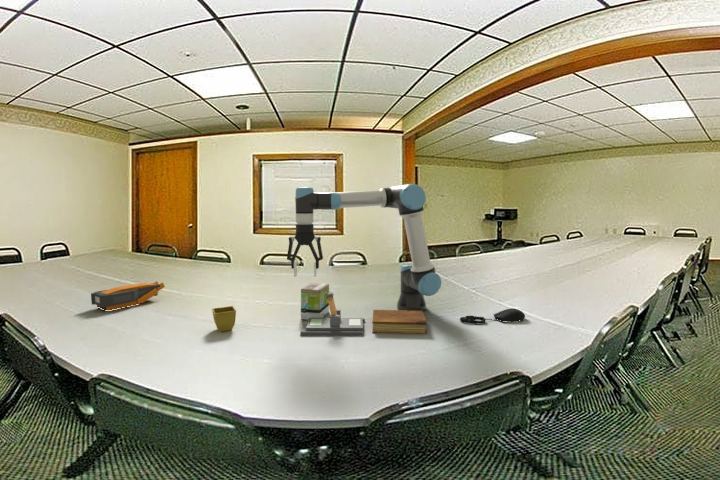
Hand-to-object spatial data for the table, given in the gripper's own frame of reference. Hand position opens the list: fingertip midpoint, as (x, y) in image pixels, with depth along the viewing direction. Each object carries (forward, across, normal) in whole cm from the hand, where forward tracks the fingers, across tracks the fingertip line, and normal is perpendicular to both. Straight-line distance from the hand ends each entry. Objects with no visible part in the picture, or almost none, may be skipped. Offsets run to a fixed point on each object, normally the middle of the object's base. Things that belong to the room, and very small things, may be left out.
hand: (305, 275), depth 163 cm
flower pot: (+24, +35, +2) cm, 42 cm away
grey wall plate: (+23, -13, 0) cm, 27 cm away
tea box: (+24, -2, -19) cm, 30 cm away
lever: (+20, -13, 0) cm, 24 cm away
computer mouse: (+24, -86, -12) cm, 90 cm away
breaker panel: (+23, -13, 0) cm, 27 cm away
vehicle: (+24, +100, -39) cm, 110 cm away
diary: (+24, -41, -2) cm, 48 cm away
